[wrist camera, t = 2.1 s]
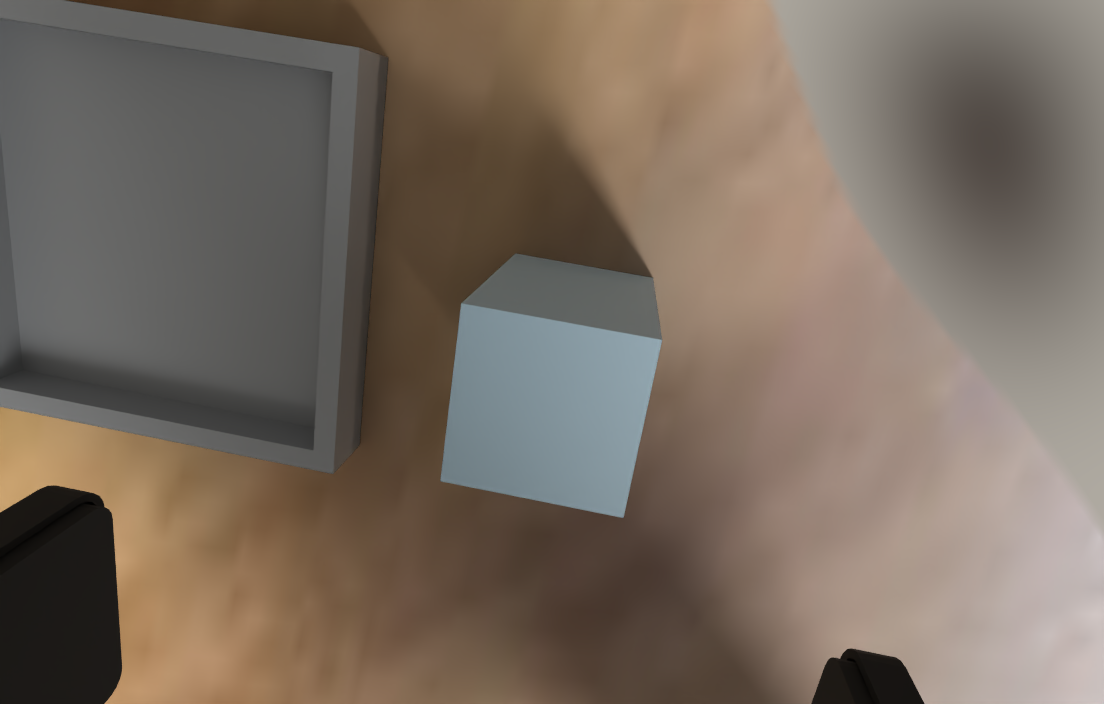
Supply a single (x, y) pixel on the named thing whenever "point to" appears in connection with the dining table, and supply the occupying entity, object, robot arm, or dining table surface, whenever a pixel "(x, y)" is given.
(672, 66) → the dining table surface
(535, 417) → the slate block
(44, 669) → the robot arm
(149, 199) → the tray
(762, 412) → the dining table surface
